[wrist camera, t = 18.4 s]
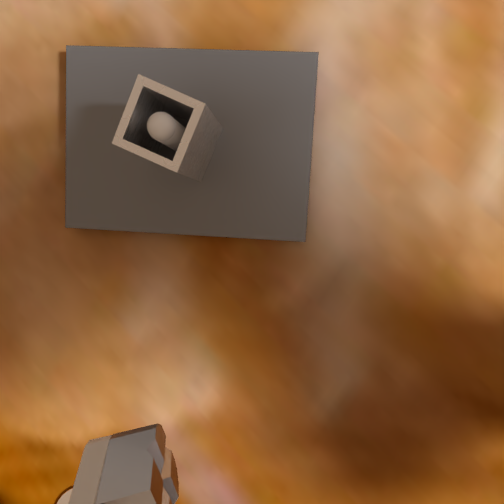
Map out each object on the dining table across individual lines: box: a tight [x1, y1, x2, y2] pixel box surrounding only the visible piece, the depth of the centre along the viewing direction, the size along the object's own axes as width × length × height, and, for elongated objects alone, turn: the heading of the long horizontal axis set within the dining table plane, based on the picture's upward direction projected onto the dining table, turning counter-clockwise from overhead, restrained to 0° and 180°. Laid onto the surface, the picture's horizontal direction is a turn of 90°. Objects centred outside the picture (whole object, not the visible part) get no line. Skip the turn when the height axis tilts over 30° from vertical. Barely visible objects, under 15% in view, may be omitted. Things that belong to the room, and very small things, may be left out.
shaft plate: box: [65, 45, 319, 242], centre depth 32 cm, size 22×16×10 cm
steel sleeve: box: [112, 74, 223, 181], centre depth 31 cm, size 5×5×8 cm
